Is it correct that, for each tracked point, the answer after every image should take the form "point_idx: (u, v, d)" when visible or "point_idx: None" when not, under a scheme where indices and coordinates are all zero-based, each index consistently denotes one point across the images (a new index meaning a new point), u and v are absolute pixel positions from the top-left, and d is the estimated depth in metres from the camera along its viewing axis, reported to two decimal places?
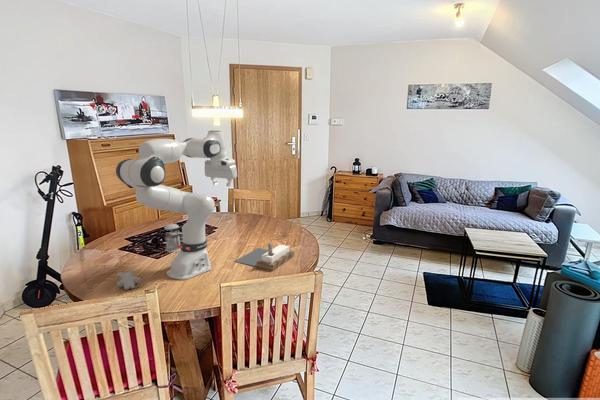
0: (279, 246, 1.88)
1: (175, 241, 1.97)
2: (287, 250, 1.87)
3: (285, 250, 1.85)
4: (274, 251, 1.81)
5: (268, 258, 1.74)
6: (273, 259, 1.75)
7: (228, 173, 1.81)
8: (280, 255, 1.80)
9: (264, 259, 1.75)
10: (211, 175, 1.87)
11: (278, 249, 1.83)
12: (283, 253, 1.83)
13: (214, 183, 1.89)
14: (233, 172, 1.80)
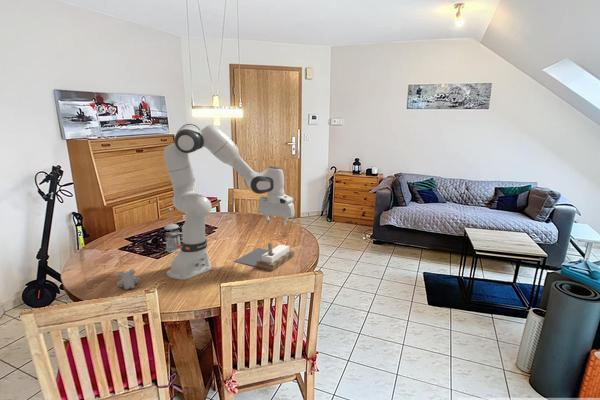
0: (279, 246, 1.88)
1: (175, 241, 1.97)
2: (287, 250, 1.87)
3: (285, 250, 1.85)
4: (274, 251, 1.81)
5: (268, 258, 1.74)
6: (273, 259, 1.75)
7: (286, 211, 1.73)
8: (280, 255, 1.80)
9: (264, 259, 1.75)
10: (266, 212, 1.79)
11: (278, 249, 1.83)
12: (283, 253, 1.83)
13: (268, 221, 1.81)
14: (291, 211, 1.72)
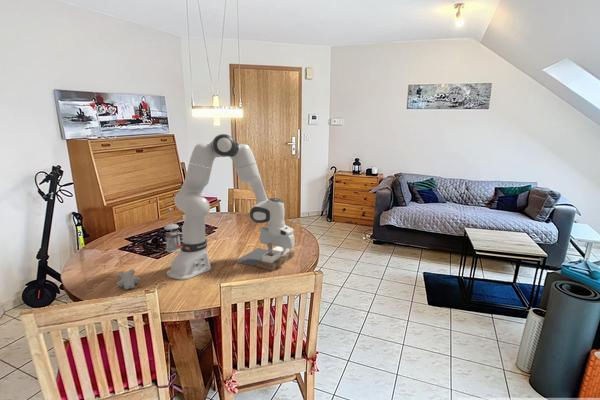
0: None
1: (175, 241, 1.97)
2: (287, 250, 1.87)
3: None
4: (274, 251, 1.81)
5: (268, 258, 1.74)
6: (273, 259, 1.75)
7: (286, 242, 1.77)
8: (280, 255, 1.80)
9: (264, 259, 1.75)
10: (267, 242, 1.83)
11: (278, 249, 1.83)
12: None
13: None
14: (292, 242, 1.76)
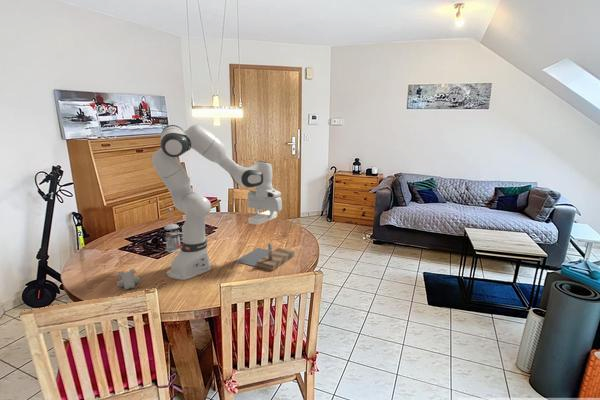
0: (267, 211, 1.87)
1: (175, 241, 1.97)
2: (275, 215, 1.86)
3: (273, 215, 1.84)
4: (261, 214, 1.80)
5: (254, 220, 1.73)
6: (259, 221, 1.73)
7: (273, 205, 1.76)
8: (267, 218, 1.79)
9: (250, 221, 1.74)
10: (254, 206, 1.82)
11: (266, 213, 1.82)
12: None
13: None
14: (279, 205, 1.75)
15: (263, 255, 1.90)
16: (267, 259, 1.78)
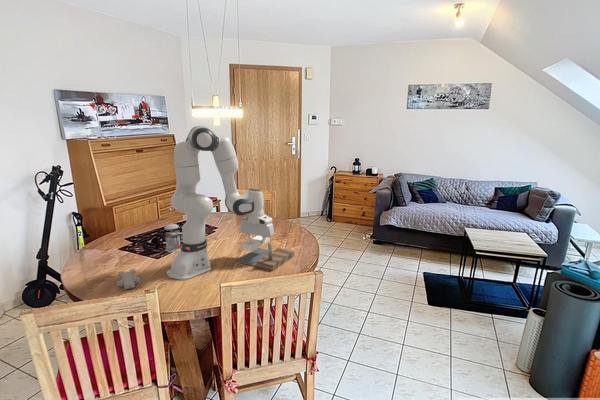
0: None
1: (175, 241, 1.97)
2: (267, 239, 1.92)
3: (265, 239, 1.90)
4: (254, 240, 1.86)
5: (247, 246, 1.79)
6: (252, 247, 1.80)
7: (265, 231, 1.82)
8: (260, 243, 1.86)
9: (244, 247, 1.80)
10: (247, 231, 1.88)
11: (258, 238, 1.89)
12: None
13: None
14: (270, 231, 1.81)
15: (263, 255, 1.90)
16: (267, 259, 1.78)
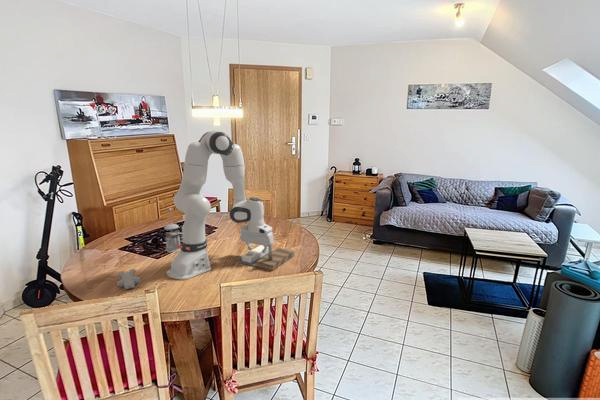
0: (260, 246, 1.95)
1: (175, 241, 1.97)
2: (267, 250, 1.94)
3: None
4: (254, 251, 1.88)
5: (247, 258, 1.81)
6: (252, 259, 1.81)
7: (265, 240, 1.83)
8: (260, 255, 1.87)
9: (244, 259, 1.82)
10: (247, 240, 1.89)
11: (258, 250, 1.90)
12: (263, 254, 1.90)
13: (249, 248, 1.91)
14: (270, 240, 1.82)
15: None
16: (267, 259, 1.78)
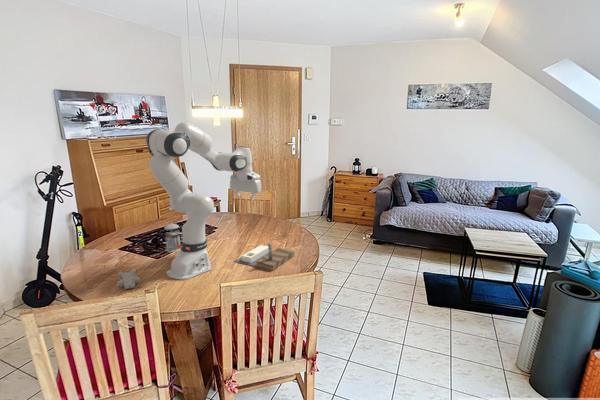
0: (260, 246, 1.95)
1: (175, 241, 1.97)
2: (267, 250, 1.94)
3: (265, 250, 1.92)
4: (254, 251, 1.88)
5: (247, 258, 1.81)
6: (252, 259, 1.81)
7: (253, 187, 1.89)
8: (260, 255, 1.87)
9: (244, 259, 1.82)
10: (236, 189, 1.95)
11: (258, 250, 1.90)
12: (263, 254, 1.90)
13: (238, 196, 1.97)
14: (258, 187, 1.88)
15: None
16: (267, 259, 1.78)
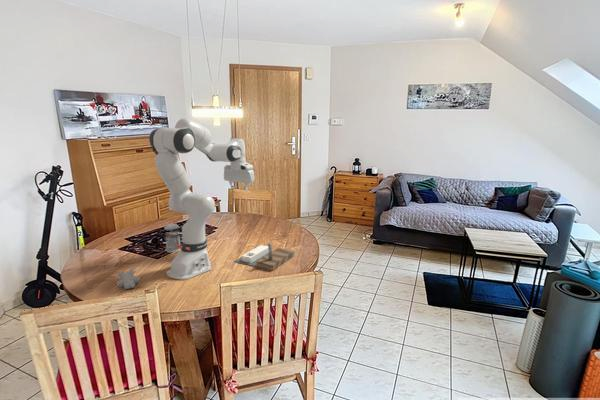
0: (260, 246, 1.95)
1: (175, 241, 1.97)
2: (267, 250, 1.94)
3: (265, 250, 1.92)
4: (254, 251, 1.88)
5: (247, 258, 1.81)
6: (252, 259, 1.81)
7: (246, 177, 1.95)
8: (260, 255, 1.87)
9: (244, 259, 1.82)
10: (230, 179, 2.01)
11: (258, 250, 1.90)
12: (263, 254, 1.90)
13: (232, 187, 2.03)
14: (251, 176, 1.95)
15: None
16: (267, 259, 1.78)
